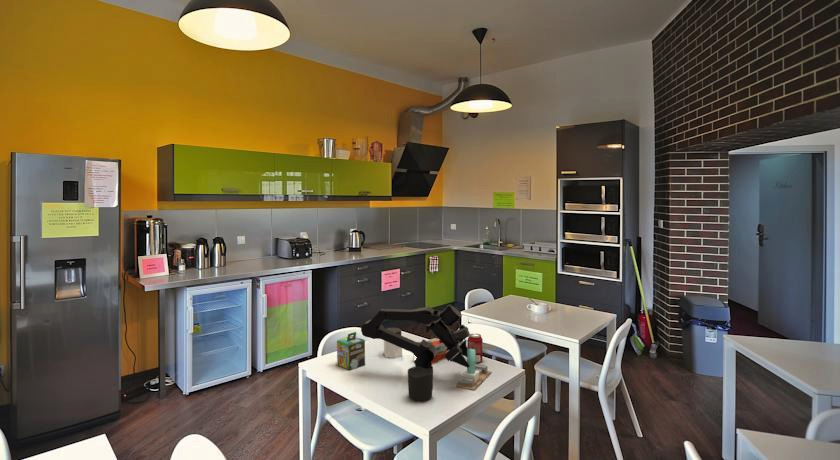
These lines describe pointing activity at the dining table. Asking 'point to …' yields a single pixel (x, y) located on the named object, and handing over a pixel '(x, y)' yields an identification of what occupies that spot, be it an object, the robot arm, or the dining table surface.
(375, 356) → the dining table surface
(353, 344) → the chalk box
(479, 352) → the soda can
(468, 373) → the carriage
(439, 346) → the medicine box
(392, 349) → the jar
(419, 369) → the pen holder
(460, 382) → the rail
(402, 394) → the dining table surface
